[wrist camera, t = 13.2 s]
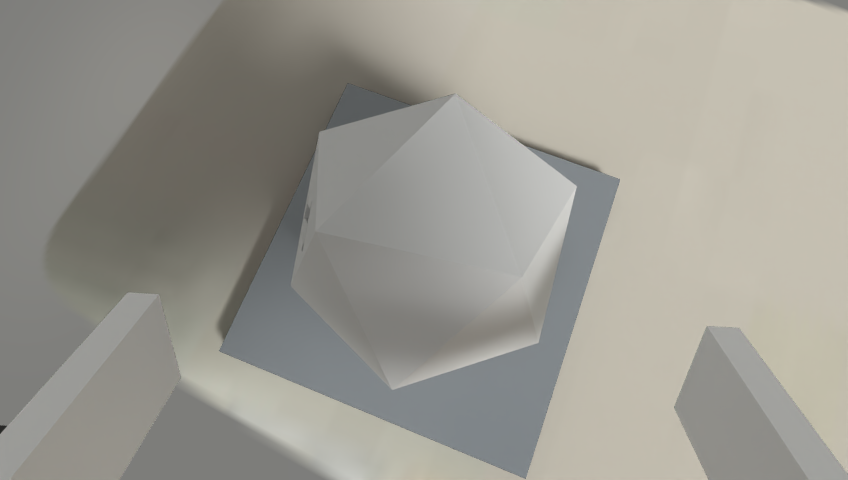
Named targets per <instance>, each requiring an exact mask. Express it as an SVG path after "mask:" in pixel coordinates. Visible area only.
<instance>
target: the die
mask: <svg viewBox="0 0 848 480" xmlns="http://www.w3.org/2000/svg"><path fill="white" fill-rule="evenodd" d="M576 188H577V186H576V185H575V184H573V183H572V182H571V181H570V180H568V179H567V178H566V177H564V176H563V175H562V174H560V173H559V172H558V171H556V170H555V169H554V168H553V167H551V166H550V165H549V164H547V163H546V162H545V161H543V160H542V159H541V158H539V157H538V156H537V155H536V154H534V153H533V152H532V151H530V150H529V149H528V148H526V147H525V146H524V145H522V144H521V143H520V142H518V141H517V140H516V139H515V138H513V137H512V136H511V135H509V134H508V133H507V132H505V131H504V130H503V129H501V128H500V127H499V126H498V125H496V124H495V123H494V122H492V121H491V120H490V119H488V118H487V117H486V116H484V115H483V114H482V113H481V112H479V111H478V110H477V109H475V108H474V107H473V106H471V105H470V104H469V103H467V102H466V101H465V100H464V99H462V98H461V97H460V96H458V95H457V94H452V95H448V96H445V97H441V98H438V99H434V100H431V101H427V102H423V103H420V104H416V105H413V106H409V107H406V108H402V109H399V110H395V111H391V112H388V113H384V114H381V115H377V116H374V117H370V118H366V119H363V120H359V121H356V122H352V123H349V124H345V125H341V126H338V127H334V128H331V129H327V130H324V131H320V132H319V136H318V141H317V147H316V152H315V158H314V163H313V168H312V174H311V179H310V184H309V190H308V195H307V201H306V206H305V211H304V217H303V222H302V227H301V233H300V238H299V244H298V249H297V254H296V260H295V265H294V271H293V276H292V281H291V287H292V288H293V289H294V290H295V291H296V292H297V293H298V294H299V295H300V296H301V297H302V298H303V299H304V300H305V301H306V302H307V303H308V304H309V305H310V306H311V307H312V309H313V310H314V311H315V312H316V313H317V314H318V315H319V316H320V317H321V318H322V319H323V320H324V321H325V322H326V323H327V324H328V325H329V326H330V327H331V328H332V329H333V330H334V331H335V332H336V333H337V334H338V335H339V336H340V337H341V338H342V339H343V340H344V341H345V342H346V343H347V344H348V345H349V346H350V347H351V348H352V349H353V350H354V351H355V352H356V354H357V355H358V356H359V357H360V358H361V359H362V360H363V361H364V362H365V363H366V364H367V365H368V366H369V367H370V368H371V369H372V370H373V371H374V372H375V373H376V374H377V375H378V376H379V377H380V378H381V379H382V380H383V381H384V382H385V383H386V384H387V385H388V386H389V387H390V388H391V389H392V390H394V389H397V388H400V387H403V386H406V385H409V384H412V383H415V382H418V381H422V380H425V379H428V378H431V377H434V376H437V375H440V374H443V373H446V372H450V371H453V370H456V369H459V368H462V367H465V366H468V365H471V364H474V363H478V362H481V361H484V360H487V359H490V358H493V357H496V356H499V355H502V354H505V353H509V352H512V351H515V350H518V349H521V348H524V347H527V346H530V345H533V344H537V343H539V339H540V334H541V330H542V326H543V322H544V318H545V314H546V310H547V306H548V302H549V298H550V294H551V290H552V286H553V282H554V277H555V273H556V269H557V265H558V261H559V257H560V253H561V249H562V245H563V241H564V237H565V233H566V229H567V224H568V220H569V216H570V212H571V208H572V204H573V200H574V196H575V192H576Z"/></svg>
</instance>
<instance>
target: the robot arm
mask: <svg viewBox="0 0 848 480" xmlns="http://www.w3.org/2000/svg"><path fill="white" fill-rule="evenodd" d="M180 379H181V375H180V371H179V368H178V364H177V360H176V356H175V352H174V349H173V345H172V341H171V337H170V334H169V330H168V326H167V322H166V318H165V315H164V311H163V307H162V303H161V300H160V296H159V294H147V293H130V292H127V294H126V295H125V296H124V297H123V298H122V299H121V300H120V301H119V302H118V304H117V305H116V306H115V307H114V308H113V309H112V310H111V311H110V312H109V314H108V315H107V316H106V317H105V318H104V319H103V320H102V321H101V322H100V324H99V325H98V326H97V327H96V328H95V329H94V330H93V331H92V332H91V334H90V335H89V336H88V337H87V338H86V339H85V340H84V342H82V344H81V345H80V346H79V347H78V348H77V349H76V350H75V351H74V353H73V354H72V355H71V356H70V357H69V358H68V359H67V360H66V361H65V363H64V364H63V365H62V366H61V367H60V368H59V369H58V370H57V371H56V373H55V374H54V375H53V376H52V377H51V378H50V379H49V380H48V381H47V383H46V384H45V385H44V386H43V387H42V388H41V389H40V390H39V392H38V393H37V394H36V395H35V396H34V397H33V398H32V399H31V400H30V401H29V403H28V404H27V405H26V406H25V407H24V408H23V409H22V410H21V412H20V413H19V414H18V415H17V416H16V417H15V418H14V419H13V420H12V421H11V423H10V424H9V425H8V426H0V480H120V478H121V476H122V475H123V473H124V471H125V470H126V468H127V466H128V465H129V463H130V461H131V460H132V458H133V456H134V455H135V453H136V452H137V450H138V448H139V446H140V445H141V443H142V442H143V440H144V438H145V437H146V435H147V433H148V431H149V430H150V428H151V427H152V425H153V423H154V422H155V420H156V418H157V417H158V415H159V413H160V412H161V410H162V408H163V407H164V405H165V403H166V402H167V400H168V398H169V397H170V395H171V394H172V392H173V390H174V389H175V387H176V385H177V384H178V382H179V380H180ZM674 408H675V411H676V413H677V415H678V417H679V419H680V421H681V423H682V425H683V427H684V429H685V431H686V434H687V436H688V438H689V440H690V442H691V444H692V446H693V448H694V450H695V452H696V454H697V457H698V459H699V461H700V463H701V465H702V467H703V469H704V471H705V473H706V475H707V477H708V480H848V474H847V472H846V471H845V470H844V468H843V467H842V466H841V464H840V463H839V462H838V460H837V459H836V458H835V456H834V455H833V454H832V452H831V451H830V450H829V448H828V447H827V445H826V444H825V443H824V441H823V440H822V439H821V437H820V436H819V435H818V433H817V432H816V431H815V429H814V428H813V427H812V425H811V424H810V423H809V421H808V420H807V419H806V417H805V416H804V414H803V413H802V412H801V410H800V409H799V408H798V406H797V405H796V404H795V402H794V401H793V400H792V398H791V397H790V396H789V394H788V393H787V392H786V390H785V389H784V388H783V386H782V385H781V383H780V382H779V381H778V379H777V378H776V377H775V375H774V374H773V373H772V371H771V370H770V369H769V367H768V366H767V365H766V363H765V362H764V361H763V359H762V358H761V357H760V355H759V354H758V352H757V351H756V350H755V348H754V347H753V346H752V344H751V343H750V342H749V340H748V339H747V338H746V336H745V335H744V334H743V332H742V331H741V330H740V328H732V327H715V326H707V327H706V329H705V332H704V334H703V337H702V339H701V342H700V344H699V347H698V349H697V352H696V354H695V357H694V359H693V361H692V364H691V366H690V369H689V371H688V374H687V376H686V379H685V381H684V384H683V386H682V389H681V391H680V394H679V396H678V399H677V401H676V403H675V406H674Z"/></svg>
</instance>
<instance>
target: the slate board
mask: <svg viewBox="0 0 848 480" xmlns="http://www.w3.org/2000/svg"><path fill="white" fill-rule="evenodd" d="M409 106H411V105H409V104H406V103H403V102H400V101H397V100H395V99H392V98H389V97H386V96H383V95H380V94H378V93H375V92H372V91H369V90H366V89H363V88H361V87H358V86H355V85H352V84H349V83H348V84H347V86H346V88H345V90H344V92H343V94H342V96H341V98H340V100H339V103H338V105H337V107H336V109H335V111H334V113H333V115H332V117H331V119H330V121H329V123H328V125H327V127H326V130H327V129H331V128H334V127H338V126H341V125H345V124H349V123H352V122H356V121H359V120H363V119H366V118H370V117H374V116H377V115H381V114H384V113H388V112H391V111H395V110H399V109H402V108H406V107H409ZM525 147H526V148H528V149H529V150H530V151H532V152H533V153H534V154H536V155H537V156H538V157H539V158H541V159H542V160H543V161H545V162H546V163H547V164H549V165H550V166H551V167H553V168H554V169H555V170H556V171H558V172H559V173H560V174H562V175H563V176H564V177H566V178H567V179H568V180H570V181H571V182H572V183H573V184H575V185H576V186H577V188H576V192H575V196H574V200H573V204H572V208H571V212H570V216H569V220H568V224H567V229H566V233H565V237H564V241H563V245H562V249H561V253H560V257H559V261H558V265H557V269H556V273H555V277H554V282H553V286H552V290H551V294H550V298H549V302H548V306H547V310H546V314H545V318H544V322H543V326H542V330H541V334H540V339H539V343H537V344H533V345H530V346H527V347H524V348H521V349H518V350H515V351H512V352H509V353H505V354H502V355H499V356H496V357H493V358H490V359H487V360H484V361H481V362H478V363H474V364H471V365H468V366H465V367H462V368H459V369H456V370H453V371H450V372H446V373H443V374H440V375H437V376H434V377H431V378H428V379H425V380H422V381H418V382H415V383H412V384H409V385H406V386H403V387H400V388H397V389H394V390H392V389H391V388H390V387H389V386H388V385H387V384H386V383H385V382H384V381H383V380H382V379H381V378H380V377H379V376H378V375H377V374H376V373H375V372H374V371H373V370H372V369H371V368H370V367H369V366H368V365H367V364H366V363H365V362H364V361H363V360H362V359H361V358H360V357H359V356H358V355H357V354H356V352H355V351H354V350H353V349H352V348H351V347H350V346H349V345H348V344H347V343H346V342H345V341H344V340H343V339H342V338H341V337H340V336H339V335H338V334H337V333H336V332H335V331H334V330H333V329H332V328H331V327H330V326H329V325H328V324H327V323H326V322H325V321H324V320H323V319H322V318H321V317H320V316H319V315H318V314H317V313H316V312H315V311H314V310H313V309H312V307H311V306H310V305H309V304H308V303H307V302H306V301H305V300H304V299H303V298H302V297H301V296H300V295H299V294H298V293H297V292H296V291H295V290H294V289H293V288H292V287H291V281H292V276H293V271H294V265H295V260H296V254H297V249H298V244H299V238H300V233H301V227H302V222H303V217H304V211H305V206H306V201H307V195H308V190H309V184H310V179H311V174H312V168H313V163H314V158H315V152H316V150H315V152H314V154H313V157H312V159H311V161H310V163H309V165H308V167H307V169H306V171H305V173H304V175H303V177H302V179H301V181H300V184H299V186H298V188H297V190H296V192H295V194H294V196H293V198H292V200H291V202H290V204H289V206H288V208H287V211H286V213H285V215H284V217H283V219H282V221H281V223H280V225H279V227H278V229H277V231H276V233H275V235H274V238H273V240H272V242H271V244H270V246H269V248H268V250H267V252H266V254H265V256H264V258H263V260H262V263H261V265H260V267H259V269H258V271H257V273H256V275H255V277H254V279H253V281H252V283H251V285H250V287H249V290H248V292H247V294H246V296H245V298H244V300H243V302H242V304H241V306H240V308H239V310H238V312H237V314H236V317H235V319H234V321H233V323H232V325H231V327H230V329H229V331H228V333H227V335H226V337H225V339H224V341H223V344H222V346H221V348H220V350H219V351H220V352H222V353H225V354H227V355H229V356H232V357H234V358H237V359H239V360H241V361H244V362H246V363H249V364H251V365H254V366H256V367H258V368H261V369H263V370H266V371H268V372H270V373H273V374H275V375H278V376H280V377H282V378H285V379H287V380H290V381H292V382H294V383H297V384H299V385H302V386H304V387H306V388H309V389H311V390H314V391H316V392H318V393H321V394H323V395H326V396H328V397H330V398H333V399H335V400H338V401H340V402H342V403H345V404H347V405H350V406H352V407H354V408H357V409H359V410H362V411H364V412H366V413H369V414H371V415H374V416H376V417H378V418H381V419H383V420H386V421H388V422H390V423H393V424H395V425H398V426H400V427H402V428H405V429H407V430H410V431H412V432H414V433H417V434H419V435H422V436H424V437H426V438H429V439H431V440H434V441H436V442H438V443H441V444H443V445H446V446H448V447H450V448H453V449H455V450H458V451H460V452H462V453H465V454H467V455H470V456H472V457H474V458H477V459H479V460H482V461H484V462H486V463H489V464H491V465H494V466H496V467H498V468H501V469H503V470H506V471H508V472H510V473H513V474H515V475H518V476H520V477H522V478H525V479H526V476H527V473H528V470H529V466H530V463H531V460H532V457H533V454H534V451H535V447H536V444H537V441H538V438H539V435H540V432H541V428H542V425H543V422H544V419H545V416H546V413H547V409H548V406H549V403H550V400H551V397H552V394H553V391H554V387H555V384H556V381H557V378H558V375H559V372H560V368H561V365H562V362H563V359H564V356H565V353H566V349H567V346H568V343H569V340H570V337H571V334H572V330H573V327H574V324H575V321H576V318H577V315H578V311H579V308H580V305H581V302H582V299H583V296H584V292H585V289H586V286H587V283H588V280H589V277H590V273H591V270H592V267H593V264H594V261H595V258H596V254H597V251H598V248H599V245H600V242H601V239H602V236H603V232H604V229H605V226H606V223H607V220H608V217H609V213H610V210H611V207H612V204H613V201H614V198H615V194H616V191H617V188H618V185H619V182H620V179H618V178H615V177H612V176H609V175H606V174H603V173H601V172H598V171H595V170H592V169H589V168H586V167H584V166H581V165H578V164H575V163H572V162H570V161H567V160H564V159H561V158H558V157H555V156H553V155H550V154H547V153H544V152H541V151H538V150H536V149H533V148H530V147H527V146H525Z"/></svg>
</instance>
